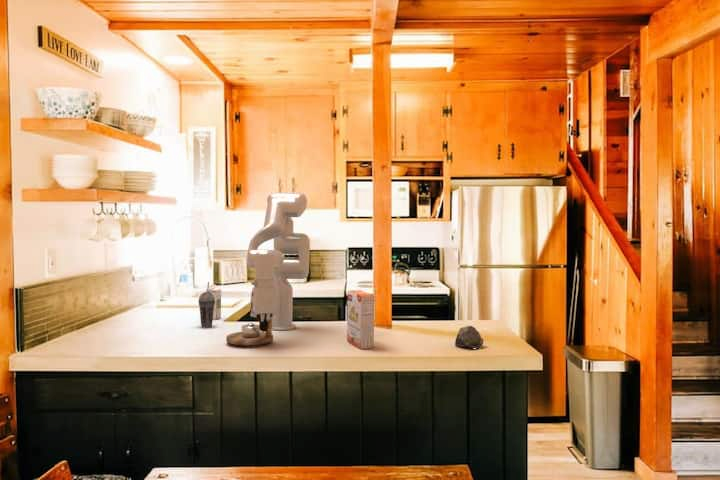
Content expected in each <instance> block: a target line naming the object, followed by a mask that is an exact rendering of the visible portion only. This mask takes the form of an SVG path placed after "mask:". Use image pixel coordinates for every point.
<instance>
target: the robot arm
mask: <svg viewBox="0 0 720 480" xmlns="http://www.w3.org/2000/svg"><path fill="white" fill-rule="evenodd" d="M266 202H267V205H266V211H265V217H264V221H263V222H264V223H263V227H261V229H259V230H258V231H257V232H256V233H255V234H254V235H253V236H252V238H251V239H250V242H249V245H248V247H247V248H248V250H247V254H246V262H247V263H246V264H247V265H248V267H249V268H251V269H254V270H253V271H254V278H253V281H250V285H251V286H253V287H252V290H251V293H250V302H249V303H250V304H249V305H250V306H249V310H250V314H249V315H250V317H253V318H256V319H257V320H258V325H259V329H260V332H267V329H268V321H269V320H270V319H272V331H288V330H289V331H291V330H294V329H296V327H297V326H296V324H295V323H293V303H294V302H293V297H294V296H293V294H294V293H293V292H294V291H293V286H292V284H291V283H290V282H289V280H304V279H307V278H308V276H309V271H310V249H311V248H310V238H309V236H308V235H307V234H306V233H304V232H303V233H302V232H300V233H299V232H294V220H293V219H292V218H299V217H301V216H302V215H303V213H305V211H306V210H307V206H308V201H307V197H306V195H305V194H304V193H302V192H300V193H299V192H296V193H295V192H293V193H292V192H275V193H270V194H269V195H267V200H266ZM271 240H273V249H259V247H261V245H262V244H263V243H266V242H269V241H271ZM284 255H297V256H298V257H292V256H291V257H289V256H284Z"/></svg>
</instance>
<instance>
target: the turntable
mask: <svg viewBox="0 0 720 480" xmlns="http://www.w3.org/2000/svg"><path fill="white" fill-rule="evenodd" d="M273 340H274V335H273V330H272V319H270V320H269V321H268V329H267V332H262V331H260V337H257V338H244V337H242V331H239V332H238V331H237V332H234V333H229V334H227V335H226V342H227V343H229V344H232V345H236V346H239V345H259V344H262V345H264V344H269V343H271V342H273ZM259 346H260V345H259Z"/></svg>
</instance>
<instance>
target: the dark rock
mask: <svg viewBox="0 0 720 480" xmlns="http://www.w3.org/2000/svg"><path fill="white" fill-rule="evenodd" d="M457 332H458V333H457V334H456V338H455V342H454V346H458V347H461V346H465V347H466V348H467V349H470V348H478V347H480V348H481V347H483V345H484V338H483V337H482V336H481V334H480V332H479V331H478V330H477V328H476V327H474V326H472V325H466V326H464V327H459V330H458V331H457Z"/></svg>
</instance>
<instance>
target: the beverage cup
mask: <svg viewBox="0 0 720 480" xmlns="http://www.w3.org/2000/svg"><path fill="white" fill-rule="evenodd" d="M209 286H210V281H208V282H207V288H206V290H207V292H206V291H204V292H203V293H201V294H200V295H199V297H198V307H199V316H200V317H199V318H200V325H201V328H204V329H208V328H209V329H210V328H212V327H213V321H214V320H213V311H214V304H215V298H214V296H213V294H212V293H210V292H208V290H209V289H210V287H209Z"/></svg>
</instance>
